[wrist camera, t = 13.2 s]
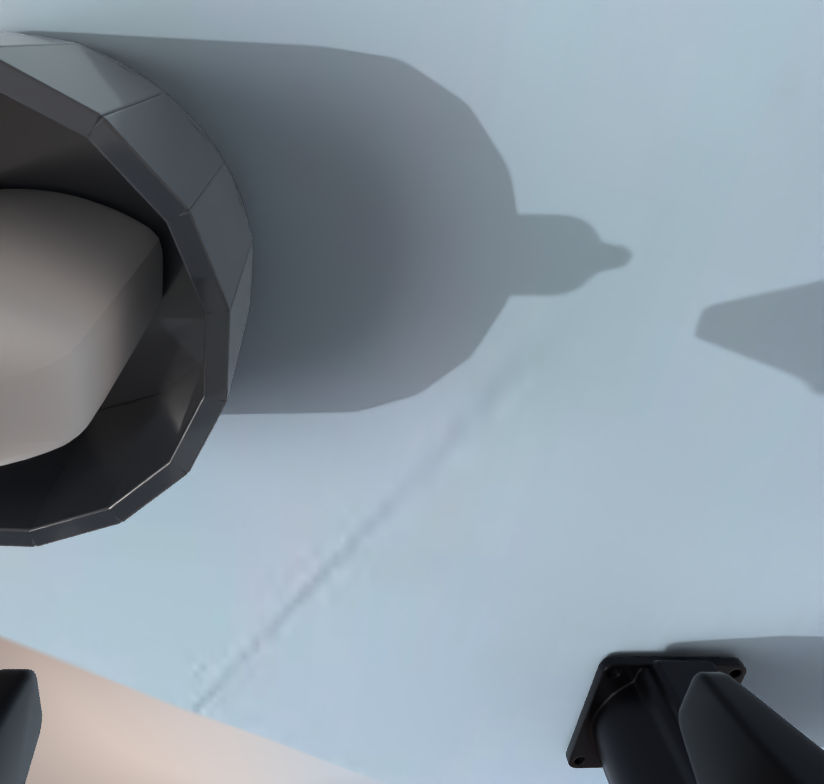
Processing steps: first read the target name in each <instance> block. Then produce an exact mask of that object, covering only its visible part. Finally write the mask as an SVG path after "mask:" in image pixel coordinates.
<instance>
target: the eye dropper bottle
mask: <svg viewBox="0 0 824 784" xmlns="http://www.w3.org/2000/svg"><path fill="white" fill-rule="evenodd" d="M162 289H163V252H162V247H161V244H160V241H159V238H158V236H157V235H156V234H155V233H154V232H153V231H152V230H151V229H150V228H149V227H147V226H145V225H144V224H142V223H140V222H139V221H137V220H135V219H133V218H131V217H129V216H127V215H125V214H123V213H121V212H119V211H116V210H114V209H112V208H109V207H107V206H104V205H102V204H99V203H96V202H93V201H90V200H87V199H83V198H80V197H76V196H72V195H68V194H63V193H58V192H52V191H44V190H35V189H0V466H3V465H7V464H10V463H14V462H18V461H22V460H26V459H29V458H32V457H35V456H38V455H41V454H44V453H47V452H49V451H52V450H54V449H57V448H59V447H61V446H64V445H65V444H67V443H69V442H70V441H72V440H73V439H74V438H76V437H77V436H78V435H80V434H81V433H82V432H83V430H84V429H85V428H86V427H87V426H88V425H89V423H90V422H91V420H92V419H93V417H94V415H95V414H96V412H97V411H98V409H99V408H100V406H101V405H102V403H103V402H104V400H105V398H106V397H107V395H108V393H109V392H110V390H111V388H112V387H113V385H114V383H115V381H116V380H117V378H118V376H119V375H120V373H121V371H122V370H123V368H124V366H125V365H126V363H127V361H128V360H129V358H130V356H131V354H132V353H133V351H134V349H135V348H136V346H137V344H138V342H139V341H140V339H141V337H142V336H143V334H144V332H145V330H146V329H147V327H148V325H149V323H150V322H151V320H152V318H153V316H154V315H155V313H156V311H157V309H158V307H159V304H160V302H161V299H162Z"/></svg>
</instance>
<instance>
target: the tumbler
mask: <svg viewBox="0 0 824 784" xmlns="http://www.w3.org/2000/svg"><path fill="white" fill-rule="evenodd" d="M0 189H35V190H44V191H52V192H58V193H63V194H68V195H72V196H76V197H80V198H83V199H87V200H90V201H93V202H96V203H99V204H102V205H104V206H107V207H109V208H112V209H114V210H116V211H119V212H121V213H123V214H125V215H127V216H129V217H131V218H133V219H135V220H137V221H139V222H140V223H142V224H144V225H145V226H147V227H149V228H150V229H151V230H152V231H153V232H154V233H155V234H156V235H157V236H158V238H159V241H160V244H161V247H162V252H163V289H162V299H161V302H160V304H159V307H158V309H157V311H156V313H155V315H154V316H153V318H152V320H151V322H150V323H149V325H148V327H147V329H146V330H145V332H144V334H143V336H142V337H141V339H140V341H139V342H138V344H137V346H136V348H135V349H134V351H133V353H132V354H131V356H130V358H129V360H128V361H127V363H126V365H125V366H124V368H123V370H122V371H121V373H120V375H119V376H118V378H117V380H116V381H115V383H114V385H113V387H112V388H111V390H110V392H109V393H108V395H107V397H106V398H105V400H104V402H103V403H102V405H101V406H100V408H99V409H98V411H97V412H96V414H95V415H94V417H93V419H92V420H91V422H90V423H89V425H88V426H87V427H86V428H85V429H84V430H83V432H82V433H81V434H80V435H78V436H77V437H76V438H74V439H73V440H72V441H70V442H69V443H67V444H65V445H64V446H61V447H59V448H57V449H54V450H52V451H49V452H47V453H44V454H41V455H38V456H35V457H32V458H29V459H26V460H22V461H18V462H14V463H10V464H7V465H3V466H0V546H24V547H34V546H40V545H44V544H48V543H51V542H55V541H58V540H62V539H66V538H69V537H73V536H76V535H80V534H84V533H87V532H91V531H94V530H98V529H102V528H105V527H109V526H112V525H116V524H119V523H121V522H123V521H125V520H126V519H128V518H129V517H130V516H132V515H133V514H134V513H136V512H137V511H138V510H140V509H141V508H142V507H144V506H145V505H146V504H148V503H149V502H150V501H152V500H153V499H154V498H156V497H157V496H158V495H160V494H161V493H162V492H164V491H165V490H166V489H168V488H169V487H171V486H172V485H173V484H175V483H176V482H177V481H179V480H180V479H181V478H183V477H184V476H185V475H187V473H188V472H189V471H190V470H191V468H192V466H193V464H194V463H195V461H196V459H197V457H198V455H199V453H200V451H201V449H202V448H203V446H204V444H205V442H206V440H207V438H208V436H209V435H210V433H211V431H212V429H213V427H214V425H215V423H216V422H217V420H218V418H219V416H220V414H221V412H222V410H223V408H224V407H225V405H226V403H227V399H228V395H229V391H230V387H231V383H232V379H233V375H234V371H235V367H236V363H237V359H238V354H239V350H240V346H241V342H242V338H243V334H244V330H245V326H246V322H247V318H248V314H249V309H250V293H251V281H252V272H253V256H252V250H253V239H252V234H251V232H250V229H249V222H248V219H247V215H246V212H245V208H244V205H243V202H242V198H241V196H240V193H239V191H238V189H237V186H236V184H235V182H234V180H233V177H232V175H231V173H230V171H229V169H228V168H227V166H226V164H225V162H224V161H223V159H222V157H221V156H220V154H219V152H218V151H217V149H216V147H215V146H214V145H213V144H212V142H211V141H210V140H209V138H208V137H207V136H206V134H205V133H204V132H203V130H202V129H201V128H200V126H199V125H198V124H197V123H196V122H195V121H194V120H193V119H192V118H191V117H190V116H189V115H188V114H187V113H186V112H185V111H184V110H183V108H182V107H181V106H180V105H179V104H178V103H176V102H175V101H174V100H173V99H172V98H170V97H169V96H168V95H167V94H166V93H164V92H163V91H162V90H161V89H160V88H158V87H157V86H156V85H155V84H153V83H152V82H150V81H149V80H147V79H146V78H144V77H143V76H141V75H140V74H138V73H137V72H135V71H133V70H132V69H130V68H129V67H127V66H125V65H123V64H121V63H119V62H117V61H115V60H113V59H111V58H109V57H107V56H105V55H103V54H101V53H99V52H96V51H93V50H91V49H89V48H87V47H86V46H84V45H82V44H78V43H76V42H70V41H64V40H58V39H53V38H49V37H44V36H40V35H29V34H19V33H12V32H6V31H0Z"/></svg>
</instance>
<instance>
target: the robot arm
mask: <svg viewBox="0 0 824 784" xmlns="http://www.w3.org/2000/svg"><path fill="white" fill-rule="evenodd" d="M745 674H746V668H745V667H744V665H743V664H742V662H741V661H740V660H739V659H738V658H700V657H609V658H606V659H604V660H603V661H602V662H601V663H600V664H599V666H598V669H597V672H596V674H595V677H594V680H593V682H592V685H591V688H590V690H589V693H588V696H587V698H586V701H585V704H584V706H583V709H582V712H581V714H580V717H579V720H578V722H577V725H576V728H575V730H574V733H573V736H572V738H571V741H570V744H569V746H568V749H567V752H566V757H567V760H568V763H569V765H570V766H571V767H573V768H600V767H603V769H604V772H605V775H606V777H607V780H608V782H609V784H824V750H822V749H821V748H820V747H819V746H817V745H816V744H815V743H814V742H812V741H811V740H810V739H809V738H807V737H806V736H805V735H804V734H802V733H801V732H800V731H799V730H797V729H796V728H795V727H794V726H792V725H791V724H790V723H789V722H787V721H786V720H785V719H783V718H782V717H781V716H780V715H778V714H777V713H776V712H775V711H773V710H772V709H771V708H770V707H768V706H767V705H766V704H765V703H763V702H762V701H761V700H760V699H758V698H757V697H756V696H755V695H753V694H752V693H751V692H750V691H748V690H747V689H746V688H745V687H743V686H742V685H741V682H742V680H743V678H744V676H745ZM41 723H42V711H41V704H40V697H39V690H38V683H37V677H36V674H35V673H34V671H32V670H29V669H3V670H0V784H25V781H26V778H27V775H28V771H29V768H30V764H31V761H32V758H33V754H34V751H35V747H36V744H37V741H38V737H39V733H40V729H41Z"/></svg>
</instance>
